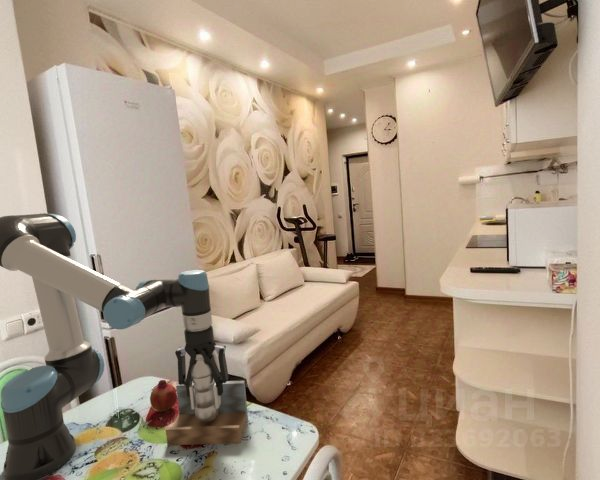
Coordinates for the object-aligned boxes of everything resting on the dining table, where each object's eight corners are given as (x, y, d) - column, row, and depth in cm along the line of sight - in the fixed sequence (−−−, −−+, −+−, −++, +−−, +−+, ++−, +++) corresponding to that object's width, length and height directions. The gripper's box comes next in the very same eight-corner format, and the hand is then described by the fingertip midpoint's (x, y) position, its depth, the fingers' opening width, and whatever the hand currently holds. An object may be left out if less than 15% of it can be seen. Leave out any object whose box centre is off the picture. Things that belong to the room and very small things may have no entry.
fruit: (165, 400, 117) (162, 372, 116) (183, 405, 113) (180, 376, 112) (145, 414, 110) (142, 384, 108) (164, 420, 106) (160, 388, 105)
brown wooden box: (167, 445, 94) (162, 403, 93) (182, 420, 105) (178, 383, 104) (240, 443, 93) (236, 401, 92) (248, 418, 104) (244, 380, 102)
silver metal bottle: (222, 411, 101) (216, 345, 99) (214, 426, 95) (207, 356, 92) (201, 411, 102) (194, 346, 100) (191, 426, 95) (184, 356, 93)
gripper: (158, 333, 92) (167, 415, 95) (229, 330, 91) (236, 413, 94) (170, 323, 100) (178, 399, 102) (235, 320, 99) (242, 397, 101)
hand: (206, 405), depth 98 cm, fingers closed on silver metal bottle, 6 cm apart
